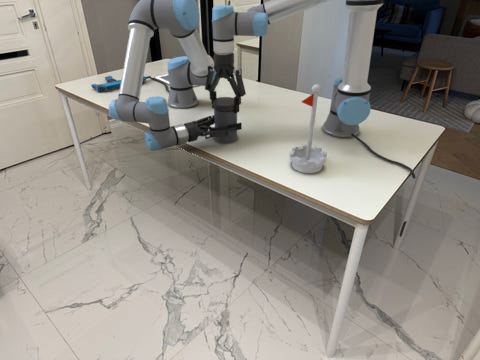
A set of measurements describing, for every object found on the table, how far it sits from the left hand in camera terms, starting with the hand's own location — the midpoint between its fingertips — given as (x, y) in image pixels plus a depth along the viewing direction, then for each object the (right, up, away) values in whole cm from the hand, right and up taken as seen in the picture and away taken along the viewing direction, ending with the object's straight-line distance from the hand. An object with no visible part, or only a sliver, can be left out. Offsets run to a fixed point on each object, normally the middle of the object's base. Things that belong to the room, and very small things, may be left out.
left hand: (235, 121), depth 142 cm
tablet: (-35, +38, +70) cm, 87 cm away
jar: (-4, -7, +2) cm, 8 cm away
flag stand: (+27, -19, -18) cm, 37 cm away
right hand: (-4, +4, -5) cm, 7 cm away
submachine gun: (-71, +35, +65) cm, 102 cm away
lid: (-4, +7, -7) cm, 10 cm away
